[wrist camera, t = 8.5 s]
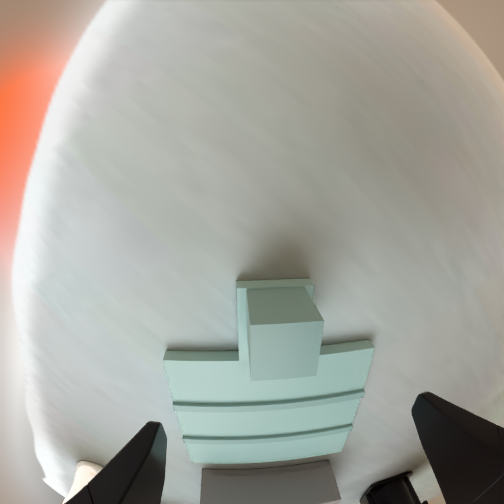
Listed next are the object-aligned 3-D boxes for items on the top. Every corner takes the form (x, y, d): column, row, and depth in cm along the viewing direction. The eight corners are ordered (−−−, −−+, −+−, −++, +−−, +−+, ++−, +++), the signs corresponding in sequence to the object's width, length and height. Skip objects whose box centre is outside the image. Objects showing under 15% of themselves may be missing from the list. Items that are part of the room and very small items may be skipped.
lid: (380, 274, 16) (421, 306, 11) (338, 443, 20) (351, 480, 16) (154, 282, 15) (128, 322, 11) (192, 454, 19) (188, 494, 15)
